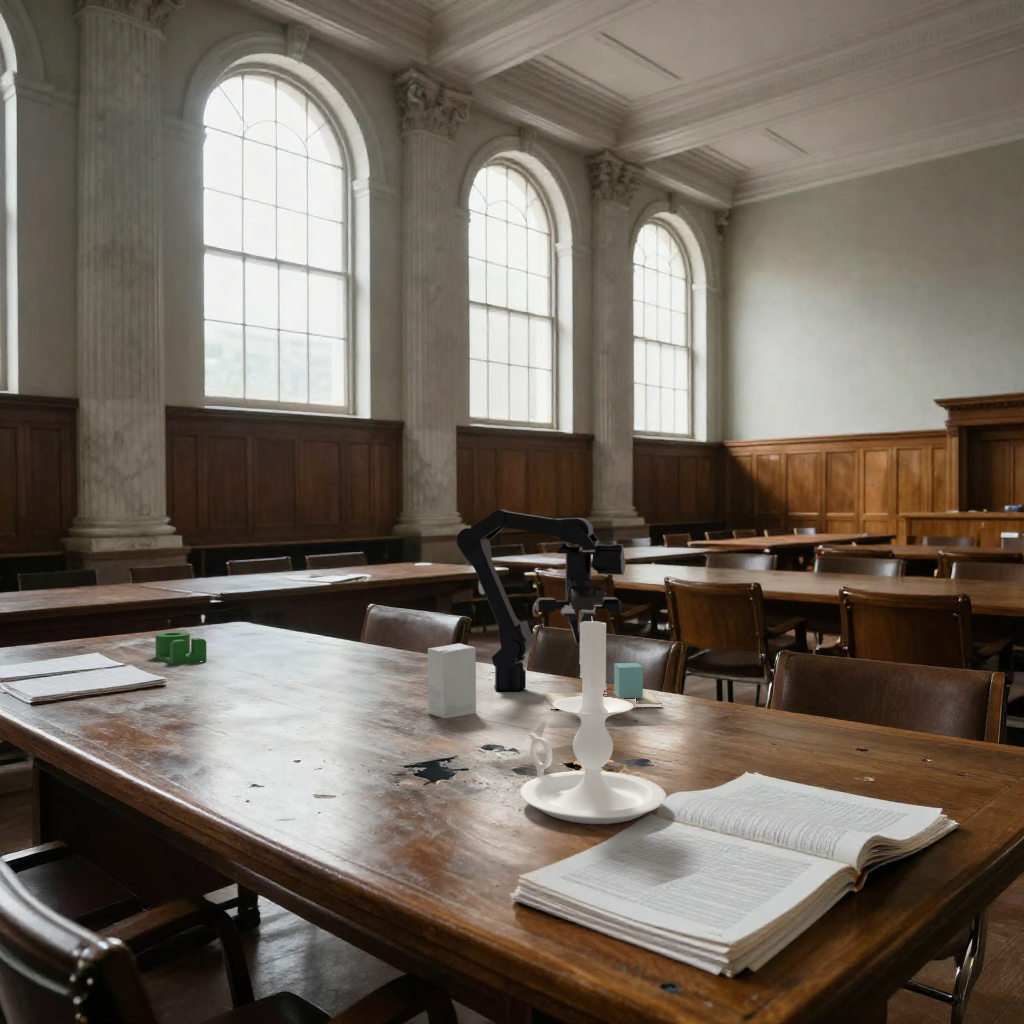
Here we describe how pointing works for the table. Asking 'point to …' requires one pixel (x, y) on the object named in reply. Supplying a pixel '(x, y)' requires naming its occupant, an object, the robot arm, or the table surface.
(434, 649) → the skincare box
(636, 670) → the teal rectangular block
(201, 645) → the slotted cylinder bracket
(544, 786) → the candlestick
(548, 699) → the post stand
